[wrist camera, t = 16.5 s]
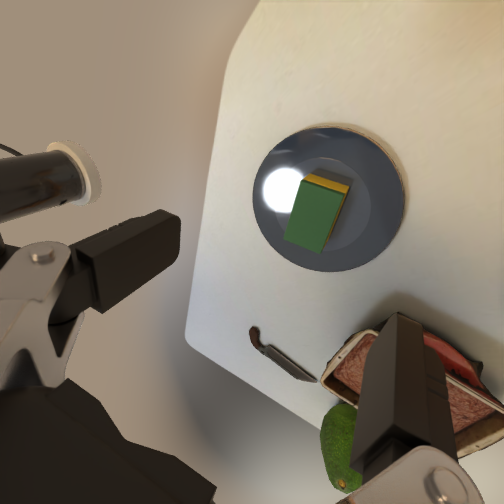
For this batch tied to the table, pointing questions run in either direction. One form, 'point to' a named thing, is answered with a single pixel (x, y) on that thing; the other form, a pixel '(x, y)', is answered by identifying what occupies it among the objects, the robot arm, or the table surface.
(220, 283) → the table surface
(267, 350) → the knife
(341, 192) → the sponge
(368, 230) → the plate
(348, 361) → the baking dish
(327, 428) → the avocado
